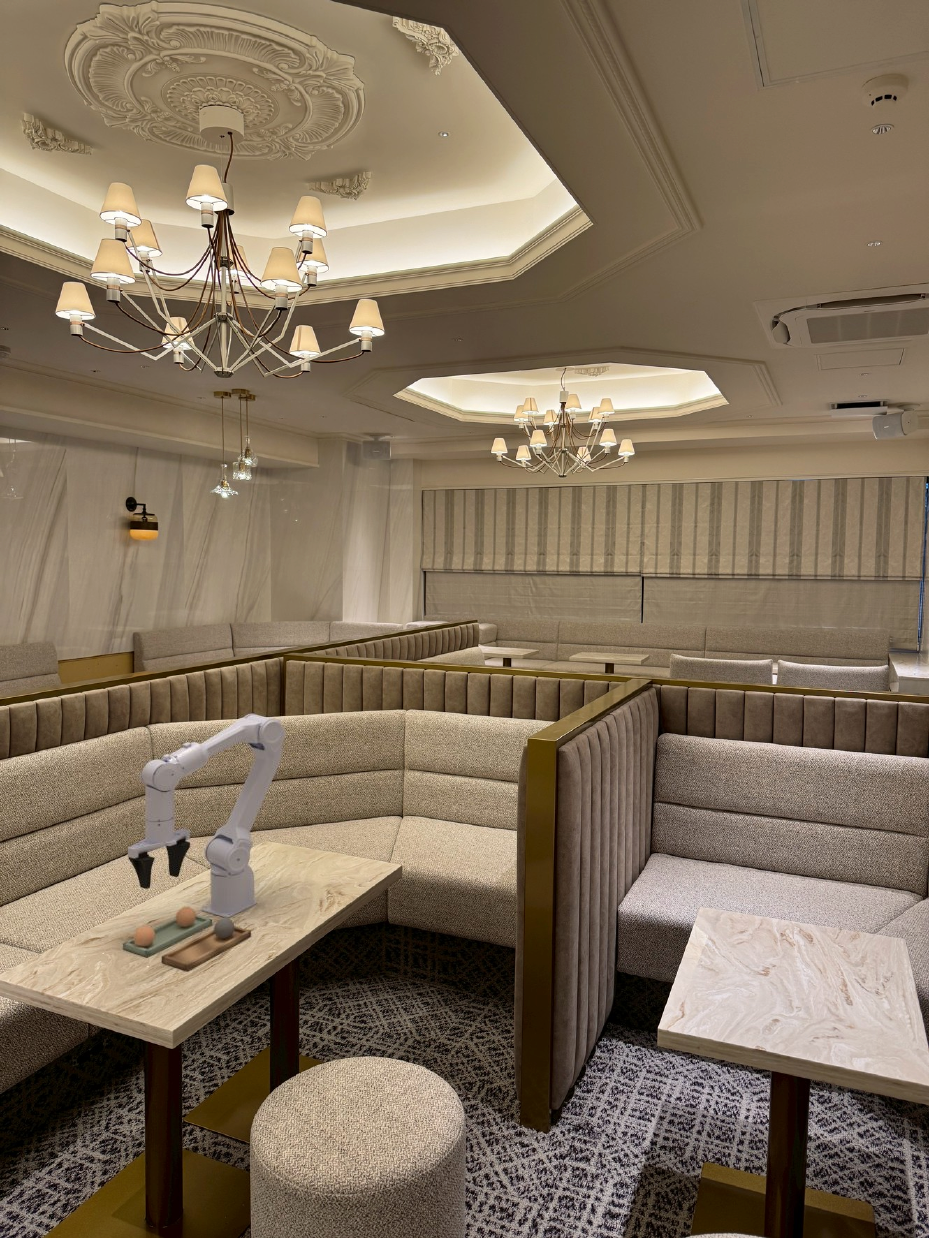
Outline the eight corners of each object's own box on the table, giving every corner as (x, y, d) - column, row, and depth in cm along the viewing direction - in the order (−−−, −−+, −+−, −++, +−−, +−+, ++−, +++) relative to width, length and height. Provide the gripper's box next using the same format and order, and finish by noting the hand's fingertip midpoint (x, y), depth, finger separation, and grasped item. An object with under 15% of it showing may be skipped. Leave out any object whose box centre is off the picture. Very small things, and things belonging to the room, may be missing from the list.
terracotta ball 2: (186, 920, 174) (186, 902, 174) (200, 924, 172) (199, 906, 172) (171, 927, 171) (171, 908, 171) (185, 931, 169) (185, 912, 169)
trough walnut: (226, 928, 172) (226, 923, 172) (250, 936, 168) (250, 930, 168) (161, 962, 157) (161, 956, 157) (187, 971, 153) (187, 965, 153)
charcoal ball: (224, 931, 169) (224, 913, 169) (238, 936, 167) (238, 917, 167) (209, 939, 166) (209, 920, 165) (224, 943, 164) (224, 924, 163)
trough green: (188, 917, 177) (188, 912, 177) (212, 924, 173) (212, 919, 173) (123, 949, 162) (122, 943, 162) (147, 957, 159) (147, 951, 158)
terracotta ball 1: (148, 927, 165) (136, 921, 163) (162, 931, 164) (150, 925, 161) (138, 947, 163) (125, 941, 160) (152, 951, 161) (139, 945, 159)
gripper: (144, 830, 161) (144, 897, 162) (200, 812, 174) (200, 874, 175) (120, 824, 164) (120, 889, 165) (176, 807, 177) (176, 868, 178)
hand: (159, 881), depth 170 cm, fingers open, 7 cm apart
